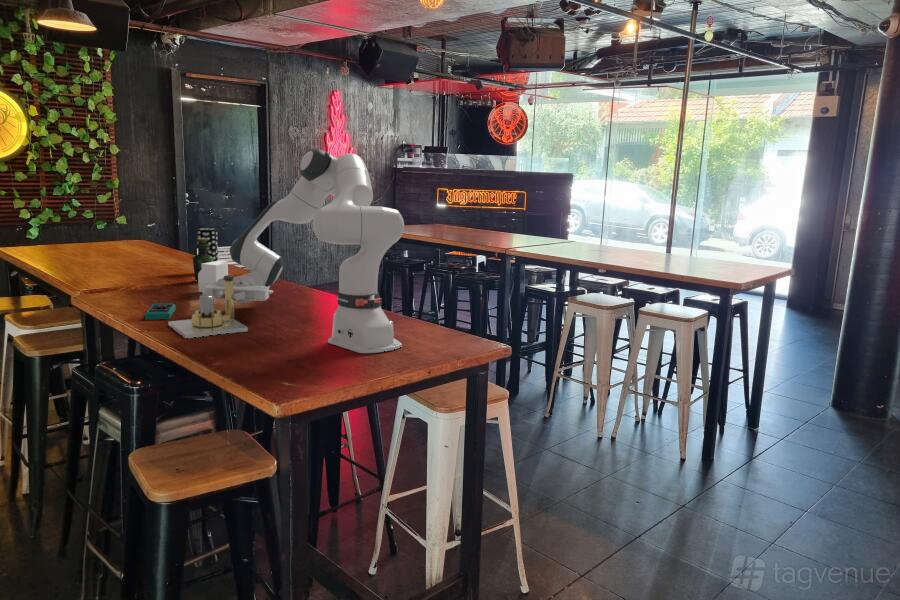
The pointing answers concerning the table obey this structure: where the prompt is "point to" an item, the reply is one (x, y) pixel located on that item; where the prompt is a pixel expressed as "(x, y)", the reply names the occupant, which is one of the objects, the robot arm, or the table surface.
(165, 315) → the digital multimeter
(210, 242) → the white-spotted black cylinder
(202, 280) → the corner bracket
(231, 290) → the brass metal fixture
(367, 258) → the robot arm
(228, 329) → the spigot base
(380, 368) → the table surface
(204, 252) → the potion bottle
